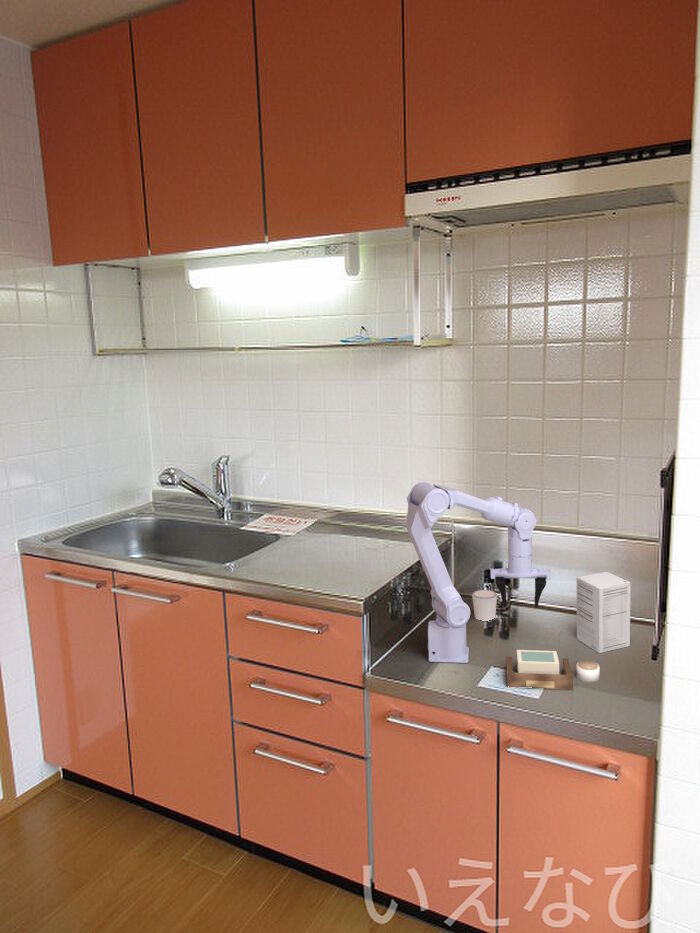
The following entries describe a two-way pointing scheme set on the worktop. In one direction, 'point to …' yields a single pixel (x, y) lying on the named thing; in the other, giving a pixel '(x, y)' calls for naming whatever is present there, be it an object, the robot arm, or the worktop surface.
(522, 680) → the display stand
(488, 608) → the beige tapered cup
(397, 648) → the worktop surface
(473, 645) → the worktop surface
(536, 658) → the carton
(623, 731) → the worktop surface
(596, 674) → the salt pot
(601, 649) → the supplement box
